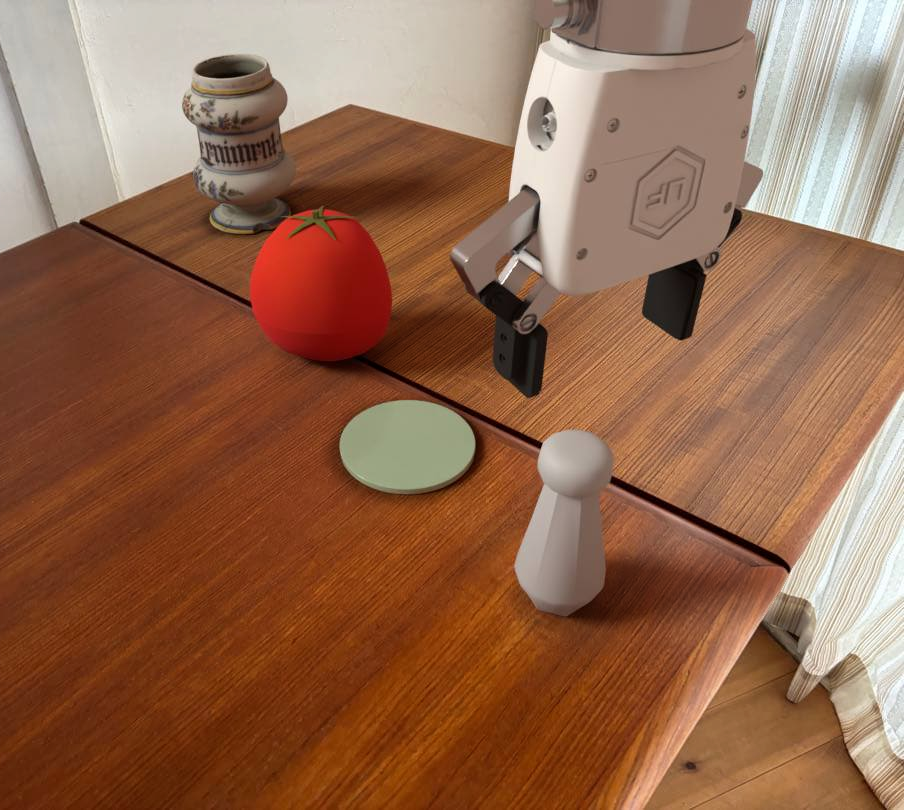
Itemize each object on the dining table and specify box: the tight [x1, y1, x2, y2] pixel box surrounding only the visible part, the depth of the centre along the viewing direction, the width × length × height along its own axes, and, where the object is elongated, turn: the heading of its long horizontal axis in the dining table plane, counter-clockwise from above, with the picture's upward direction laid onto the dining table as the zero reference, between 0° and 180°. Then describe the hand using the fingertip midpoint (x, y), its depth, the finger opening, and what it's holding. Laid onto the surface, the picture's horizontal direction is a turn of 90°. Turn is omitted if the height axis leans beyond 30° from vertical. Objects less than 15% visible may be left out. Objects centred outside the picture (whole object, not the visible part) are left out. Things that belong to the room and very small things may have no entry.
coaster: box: [339, 399, 477, 495], centre depth 69 cm, size 11×11×1 cm
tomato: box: [249, 205, 393, 362], centre depth 75 cm, size 13×11×14 cm
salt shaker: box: [513, 429, 615, 617], centre depth 53 cm, size 6×6×13 cm
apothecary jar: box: [181, 53, 297, 235], centre depth 98 cm, size 12×12×18 cm
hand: (593, 353), depth 44 cm, fingers open, 9 cm apart
